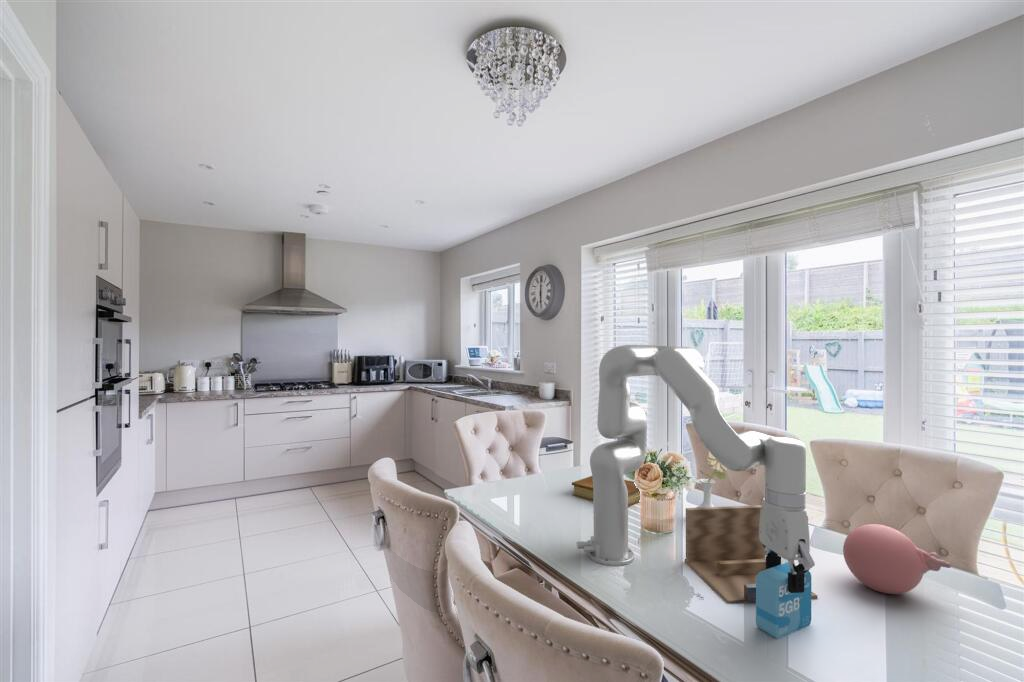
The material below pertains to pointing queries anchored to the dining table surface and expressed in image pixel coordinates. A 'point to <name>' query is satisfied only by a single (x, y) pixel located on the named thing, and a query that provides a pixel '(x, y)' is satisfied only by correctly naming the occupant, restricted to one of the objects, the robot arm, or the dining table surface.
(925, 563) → the balloon
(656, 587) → the dining table surface
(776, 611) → the data package
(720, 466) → the flower in vase
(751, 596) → the grey rectangular bar
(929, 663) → the dining table surface
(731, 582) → the shelf
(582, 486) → the diary
